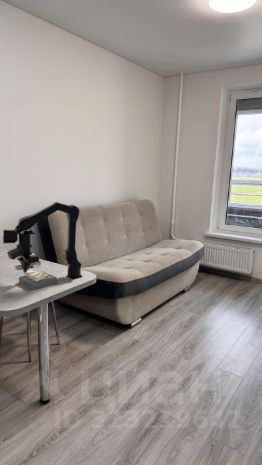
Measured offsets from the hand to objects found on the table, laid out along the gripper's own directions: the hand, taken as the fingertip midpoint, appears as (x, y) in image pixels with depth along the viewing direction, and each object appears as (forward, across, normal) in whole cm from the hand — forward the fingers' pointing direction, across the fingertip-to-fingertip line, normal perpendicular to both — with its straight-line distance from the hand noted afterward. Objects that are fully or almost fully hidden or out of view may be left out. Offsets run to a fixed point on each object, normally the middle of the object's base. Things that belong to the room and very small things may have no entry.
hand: (24, 272), depth 166 cm
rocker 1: (+1, 0, +3) cm, 3 cm away
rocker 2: (+1, +4, +3) cm, 5 cm away
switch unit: (+6, +4, +5) cm, 9 cm away
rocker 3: (+1, +9, +3) cm, 9 cm away
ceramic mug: (+5, -24, +17) cm, 30 cm away
